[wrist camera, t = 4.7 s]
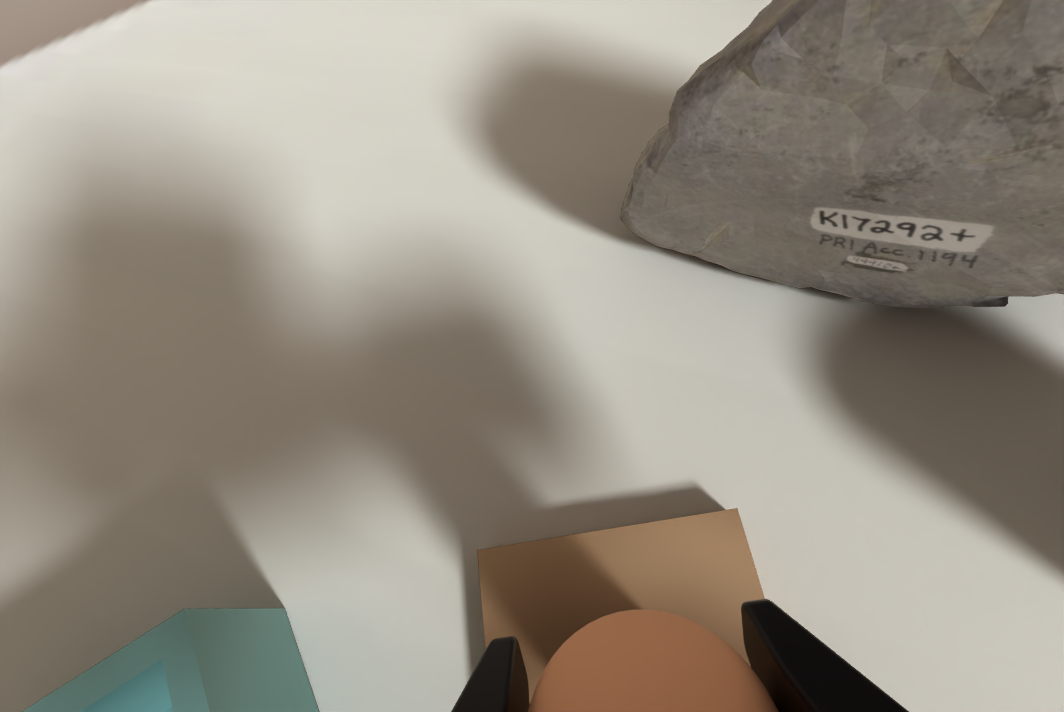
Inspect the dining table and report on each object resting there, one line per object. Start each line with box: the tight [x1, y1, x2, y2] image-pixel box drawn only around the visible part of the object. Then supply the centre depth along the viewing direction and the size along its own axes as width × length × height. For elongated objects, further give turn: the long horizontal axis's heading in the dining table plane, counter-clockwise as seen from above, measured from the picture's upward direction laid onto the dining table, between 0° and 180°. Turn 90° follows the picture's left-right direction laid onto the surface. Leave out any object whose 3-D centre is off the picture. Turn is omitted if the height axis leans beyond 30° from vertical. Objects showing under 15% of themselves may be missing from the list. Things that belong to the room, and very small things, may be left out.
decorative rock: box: [620, 0, 1064, 308], centre depth 13 cm, size 16×7×15 cm, turn 66°
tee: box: [477, 508, 765, 703], centre depth 12 cm, size 8×8×7 cm
